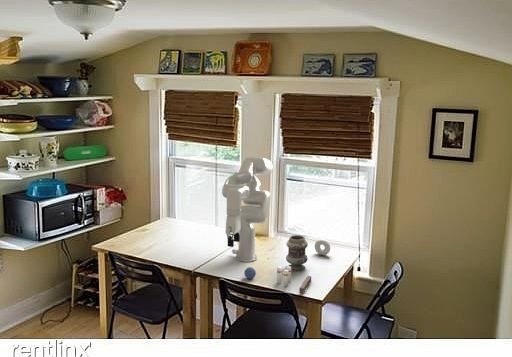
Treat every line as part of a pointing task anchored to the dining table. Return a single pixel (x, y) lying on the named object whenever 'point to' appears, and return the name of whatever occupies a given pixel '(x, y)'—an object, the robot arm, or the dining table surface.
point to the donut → (326, 245)
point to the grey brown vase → (296, 252)
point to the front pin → (279, 275)
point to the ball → (250, 273)
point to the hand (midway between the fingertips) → (233, 243)
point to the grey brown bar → (305, 284)
